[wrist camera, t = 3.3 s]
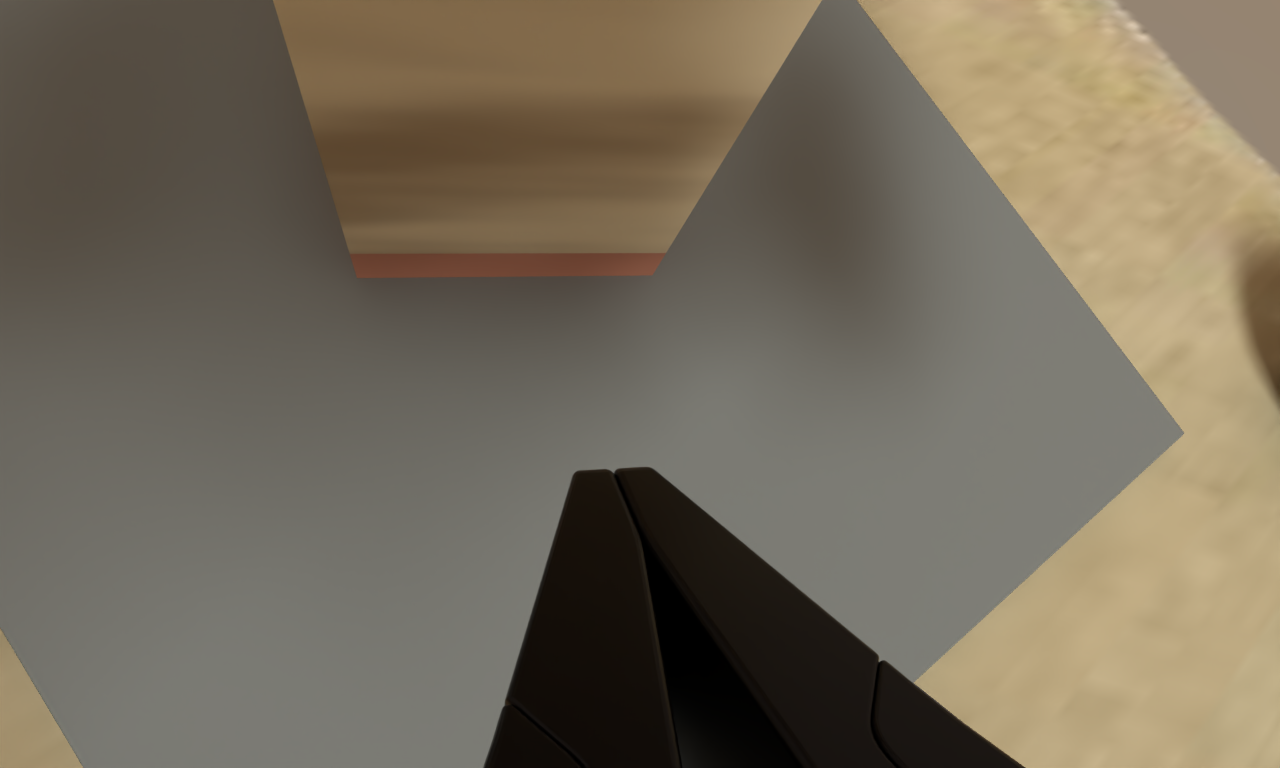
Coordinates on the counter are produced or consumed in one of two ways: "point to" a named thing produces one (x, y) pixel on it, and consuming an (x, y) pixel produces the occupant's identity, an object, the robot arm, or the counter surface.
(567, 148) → the maple block
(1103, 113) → the counter surface
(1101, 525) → the counter surface
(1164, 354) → the counter surface
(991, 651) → the counter surface
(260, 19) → the slate mat
